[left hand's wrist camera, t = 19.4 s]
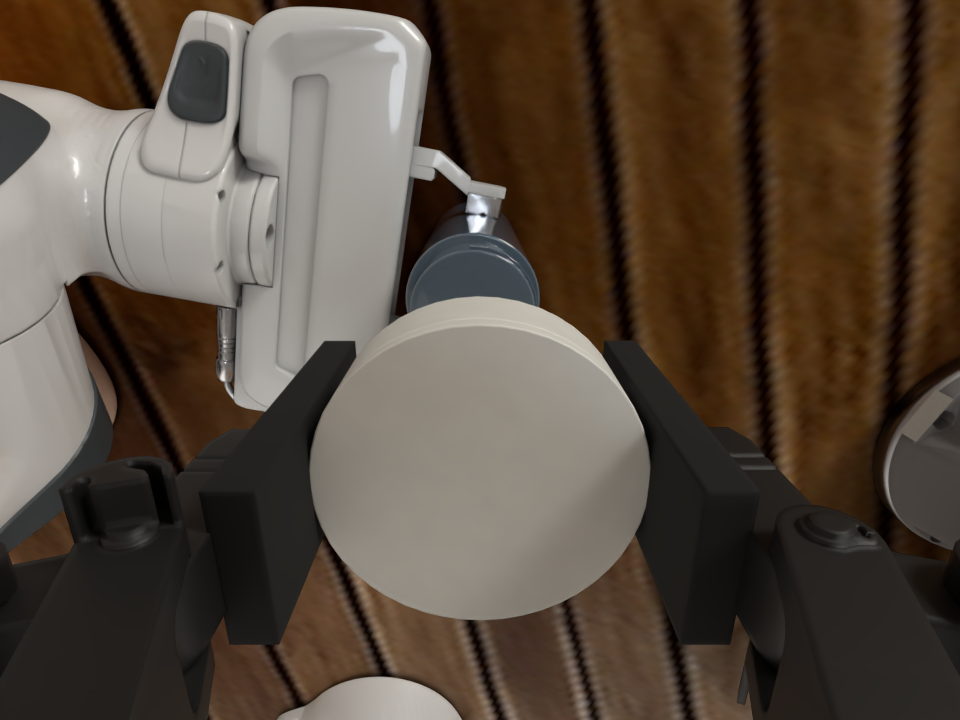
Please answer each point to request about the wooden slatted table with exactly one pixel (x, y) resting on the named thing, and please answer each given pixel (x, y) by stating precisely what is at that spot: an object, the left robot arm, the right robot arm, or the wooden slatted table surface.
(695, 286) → the wooden slatted table surface
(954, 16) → the wooden slatted table surface
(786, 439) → the wooden slatted table surface
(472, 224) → the jar
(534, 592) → the lid
